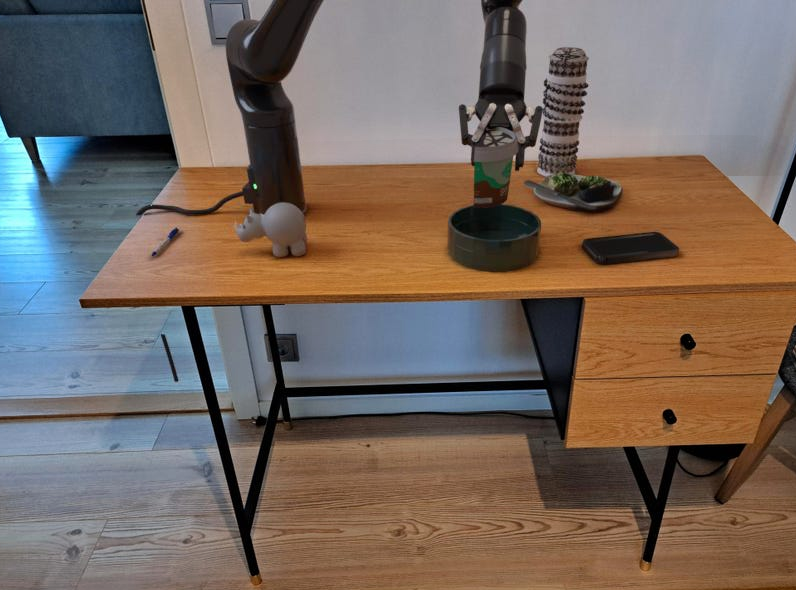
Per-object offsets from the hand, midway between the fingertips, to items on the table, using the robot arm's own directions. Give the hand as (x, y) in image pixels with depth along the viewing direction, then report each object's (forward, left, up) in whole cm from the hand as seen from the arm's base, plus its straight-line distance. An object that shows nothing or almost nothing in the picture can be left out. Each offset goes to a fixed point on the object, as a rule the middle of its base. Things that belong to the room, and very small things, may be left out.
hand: (496, 167), depth 104 cm
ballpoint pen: (-57, -5, -14) cm, 59 cm away
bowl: (0, -1, -14) cm, 14 cm away
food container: (0, -1, -5) cm, 5 cm away
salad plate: (+17, +25, -14) cm, 34 cm away
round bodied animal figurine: (-37, -5, -14) cm, 40 cm away
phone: (+24, +1, -14) cm, 28 cm away
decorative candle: (+13, +40, -14) cm, 45 cm away
